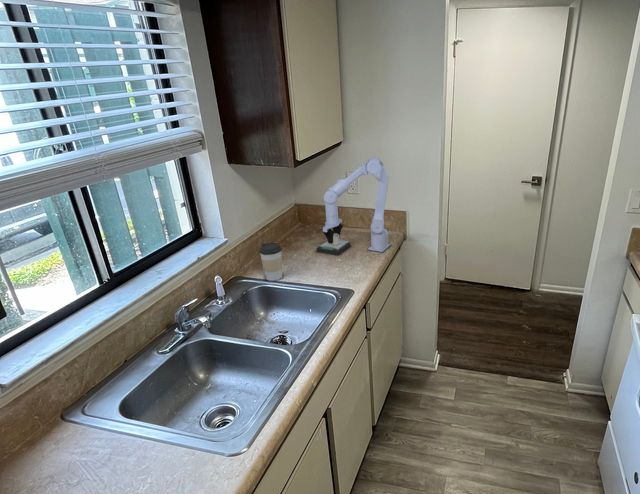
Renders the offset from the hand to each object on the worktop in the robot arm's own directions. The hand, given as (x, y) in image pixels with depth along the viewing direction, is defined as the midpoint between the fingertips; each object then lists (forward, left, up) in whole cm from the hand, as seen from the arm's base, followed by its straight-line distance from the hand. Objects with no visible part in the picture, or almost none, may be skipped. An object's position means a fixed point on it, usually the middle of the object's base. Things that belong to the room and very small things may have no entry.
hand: (333, 241), depth 213 cm
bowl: (0, 0, -1) cm, 1 cm away
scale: (0, 0, -4) cm, 4 cm away
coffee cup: (+36, -8, -4) cm, 38 cm away
